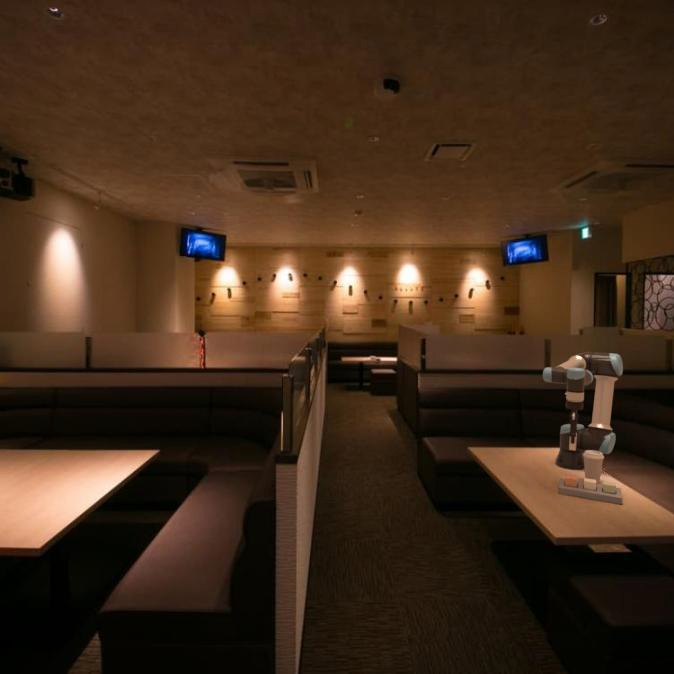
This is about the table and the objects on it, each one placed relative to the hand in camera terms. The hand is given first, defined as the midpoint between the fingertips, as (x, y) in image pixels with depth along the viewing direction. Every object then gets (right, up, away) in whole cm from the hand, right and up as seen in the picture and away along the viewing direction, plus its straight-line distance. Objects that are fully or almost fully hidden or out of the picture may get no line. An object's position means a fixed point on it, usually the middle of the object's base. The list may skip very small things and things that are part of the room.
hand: (572, 447), depth 232 cm
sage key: (+14, -19, -6) cm, 24 cm away
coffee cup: (+17, -21, +15) cm, 31 cm away
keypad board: (+7, -21, -3) cm, 23 cm away
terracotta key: (0, -18, +1) cm, 18 cm away
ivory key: (+7, -18, -3) cm, 20 cm away
